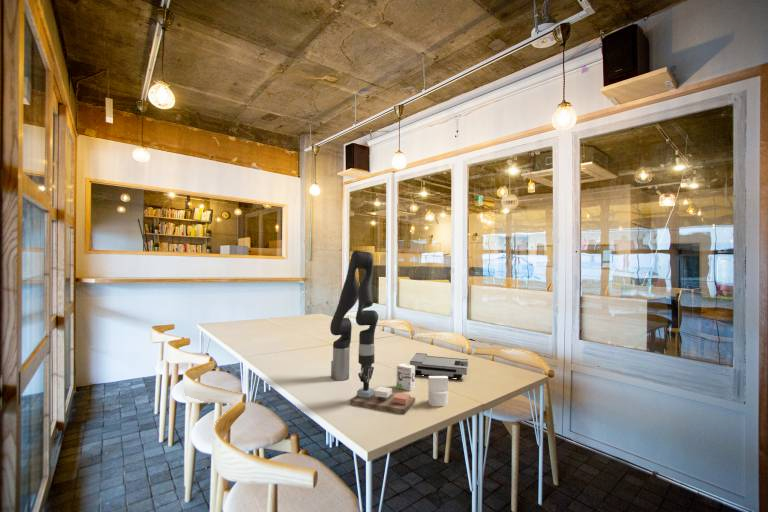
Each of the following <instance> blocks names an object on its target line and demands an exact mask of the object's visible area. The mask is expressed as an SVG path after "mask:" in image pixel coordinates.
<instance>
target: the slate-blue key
mask: <svg viewBox="0 0 768 512" xmlns="http://www.w3.org/2000/svg"><path fill="white" fill-rule="evenodd" d="M374 391H375V388H372V387H369V390H367V391H366V390H363V386H362V387H360V388H359V389H358V390H357V391H356V395H357V396H359V397H364V398H370V397H371V396H372V395H373V394H374Z"/></svg>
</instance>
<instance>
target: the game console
mask: <svg viewBox="0 0 768 512" xmlns="http://www.w3.org/2000/svg"><path fill="white" fill-rule="evenodd" d="M409 365H413V366H415V375H424V376H423V377H425V376H447V377H448V378H461V379H462V378H463V376H467V375H468V374H467V373H468V366H469V359H467V358H466V359H465V358H456V357H447V356H445V357H444V356H443V357H442V356H435V355H434V356H432V355H428V354H427V353H419V352H416V353H415V354H414V356H412V358H411V359H410V361H409Z"/></svg>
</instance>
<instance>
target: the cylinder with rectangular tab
mask: <svg viewBox="0 0 768 512" xmlns="http://www.w3.org/2000/svg"><path fill="white" fill-rule="evenodd" d="M427 389H428V392H427V394H428V396H427V397H428V402H427V403H428V404H429V405H430V404H431V405H430V406H432V405H434V406H433V407H436V406H444V405H446V404H447V403H448V404H449V379H448V377H447V376H429V377H428V388H427ZM444 407H445V406H444Z"/></svg>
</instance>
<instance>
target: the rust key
mask: <svg viewBox="0 0 768 512" xmlns="http://www.w3.org/2000/svg"><path fill="white" fill-rule="evenodd" d="M410 397H411V394H407V393H402V392H397V393H396V395H395V396H394V397H393V403H399V404H405V405H406V404H407V403H408V402H409V401H410Z"/></svg>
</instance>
